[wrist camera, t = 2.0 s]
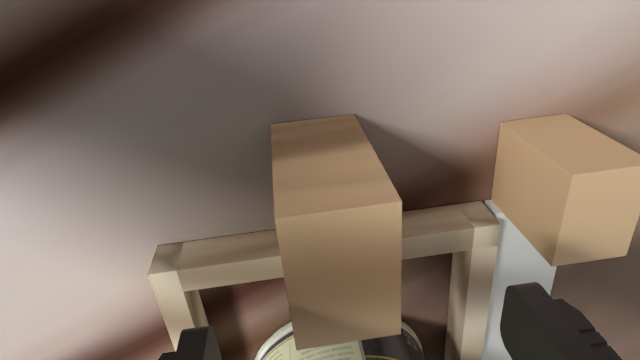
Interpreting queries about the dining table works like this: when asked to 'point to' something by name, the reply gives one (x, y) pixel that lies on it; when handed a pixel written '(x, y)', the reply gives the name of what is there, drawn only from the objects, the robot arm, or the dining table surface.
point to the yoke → (338, 247)
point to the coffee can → (344, 348)
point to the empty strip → (556, 205)
